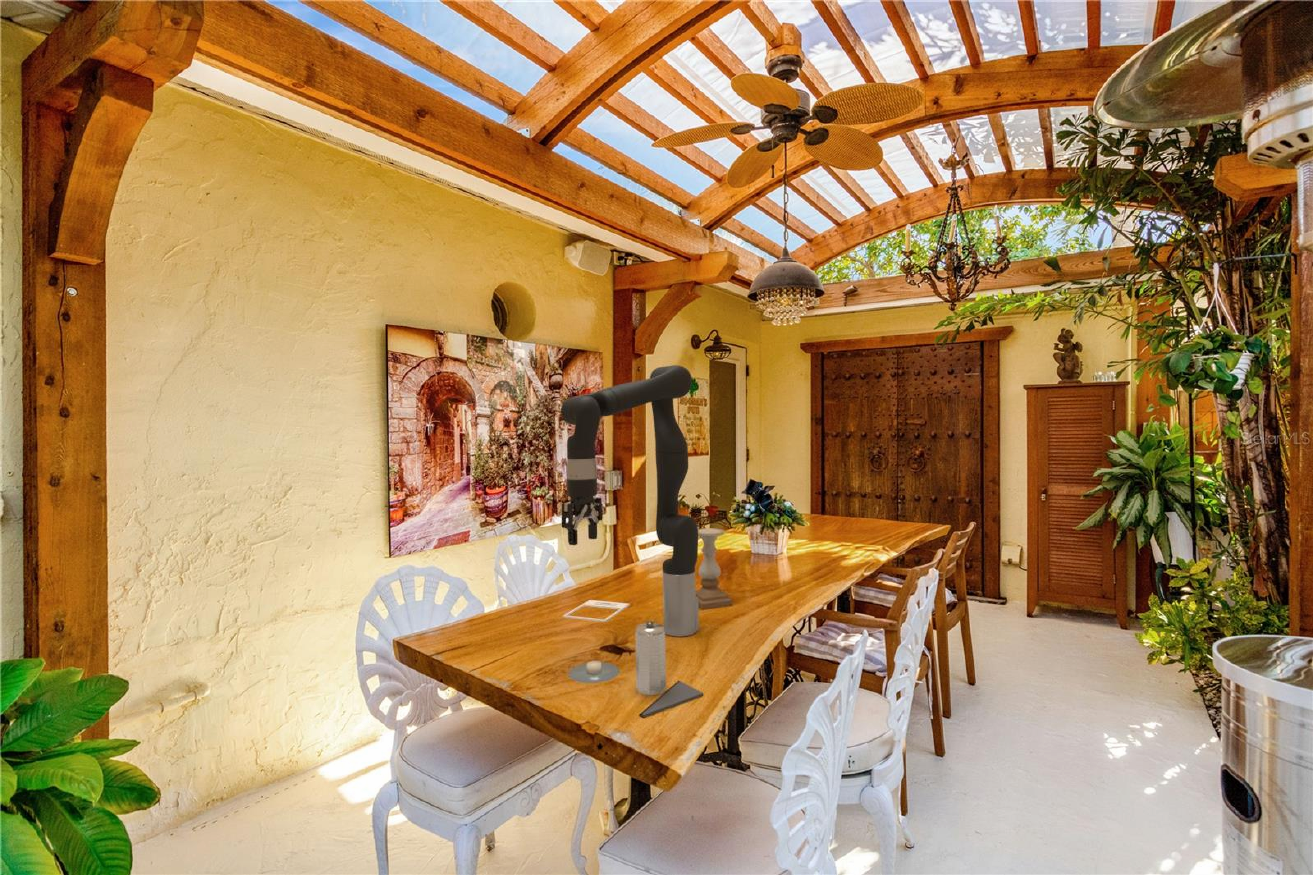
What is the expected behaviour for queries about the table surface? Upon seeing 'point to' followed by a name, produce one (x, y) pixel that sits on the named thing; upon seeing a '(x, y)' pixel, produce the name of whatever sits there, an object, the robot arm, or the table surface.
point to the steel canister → (650, 658)
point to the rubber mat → (672, 698)
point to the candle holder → (710, 573)
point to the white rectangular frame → (601, 605)
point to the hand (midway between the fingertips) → (583, 541)
